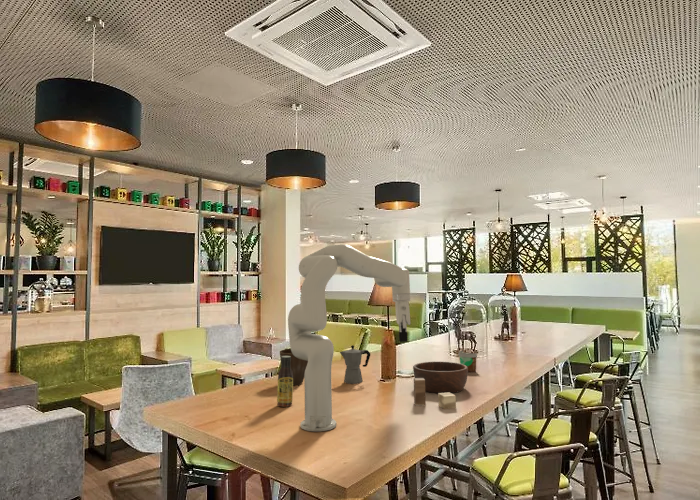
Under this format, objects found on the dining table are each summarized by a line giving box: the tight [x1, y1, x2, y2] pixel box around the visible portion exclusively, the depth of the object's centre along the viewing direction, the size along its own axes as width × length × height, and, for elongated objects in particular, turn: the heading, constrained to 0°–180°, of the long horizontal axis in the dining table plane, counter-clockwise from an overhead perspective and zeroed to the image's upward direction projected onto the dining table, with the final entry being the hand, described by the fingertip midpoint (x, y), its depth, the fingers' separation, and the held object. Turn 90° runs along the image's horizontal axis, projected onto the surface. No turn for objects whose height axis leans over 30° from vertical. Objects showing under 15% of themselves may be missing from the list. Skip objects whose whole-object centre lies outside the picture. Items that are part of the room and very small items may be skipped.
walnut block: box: [413, 377, 427, 406], centre depth 185 cm, size 4×4×10 cm
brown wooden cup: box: [279, 348, 308, 386], centre depth 225 cm, size 15×15×16 cm
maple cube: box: [437, 392, 457, 410], centre depth 180 cm, size 5×5×5 cm
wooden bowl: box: [412, 361, 469, 394], centre depth 210 cm, size 25×25×10 cm
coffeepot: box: [339, 344, 371, 385], centre depth 227 cm, size 15×9×18 cm, turn 87°
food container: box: [458, 350, 478, 373], centre depth 248 cm, size 12×6×10 cm, turn 25°
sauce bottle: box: [276, 356, 294, 408], centre depth 186 cm, size 6×6×20 cm
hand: (403, 341), depth 191 cm, fingers closed
